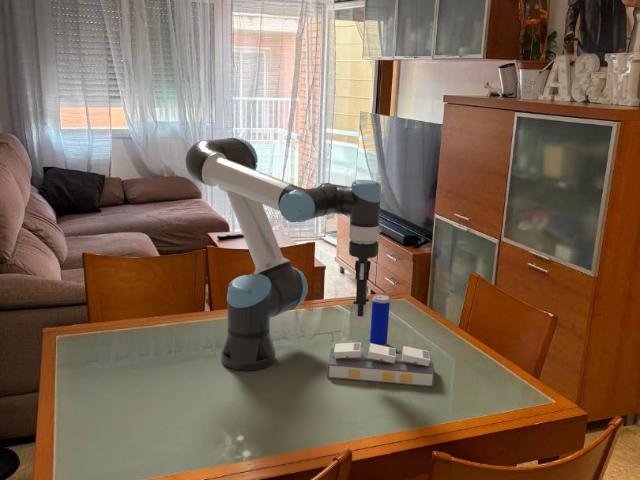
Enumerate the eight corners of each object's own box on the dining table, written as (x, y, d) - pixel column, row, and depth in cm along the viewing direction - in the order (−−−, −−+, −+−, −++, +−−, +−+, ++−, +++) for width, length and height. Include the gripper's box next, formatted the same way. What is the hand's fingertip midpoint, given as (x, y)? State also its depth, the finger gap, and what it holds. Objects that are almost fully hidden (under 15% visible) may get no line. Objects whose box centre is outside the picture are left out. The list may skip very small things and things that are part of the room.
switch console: (326, 378, 164) (327, 362, 162) (330, 361, 174) (331, 346, 173) (433, 387, 161) (435, 371, 160) (431, 369, 171) (432, 354, 170)
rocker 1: (334, 360, 165) (333, 351, 164) (336, 351, 170) (335, 343, 170) (360, 358, 164) (359, 350, 163) (361, 350, 169) (360, 341, 169)
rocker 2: (367, 359, 164) (369, 351, 163) (368, 350, 169) (370, 342, 169) (393, 365, 163) (395, 356, 163) (393, 356, 169) (395, 348, 168)
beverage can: (386, 341, 189) (389, 294, 185) (386, 347, 184) (390, 300, 180) (369, 339, 189) (372, 293, 186) (369, 346, 185) (372, 299, 181)
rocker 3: (401, 362, 163) (403, 353, 162) (401, 353, 168) (403, 345, 168) (428, 367, 162) (430, 359, 162) (426, 358, 168) (428, 350, 167)
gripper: (377, 247, 152) (373, 336, 158) (379, 235, 165) (374, 318, 170) (347, 245, 153) (344, 334, 159) (351, 234, 166) (347, 316, 171)
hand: (360, 325), depth 165 cm, fingers closed
